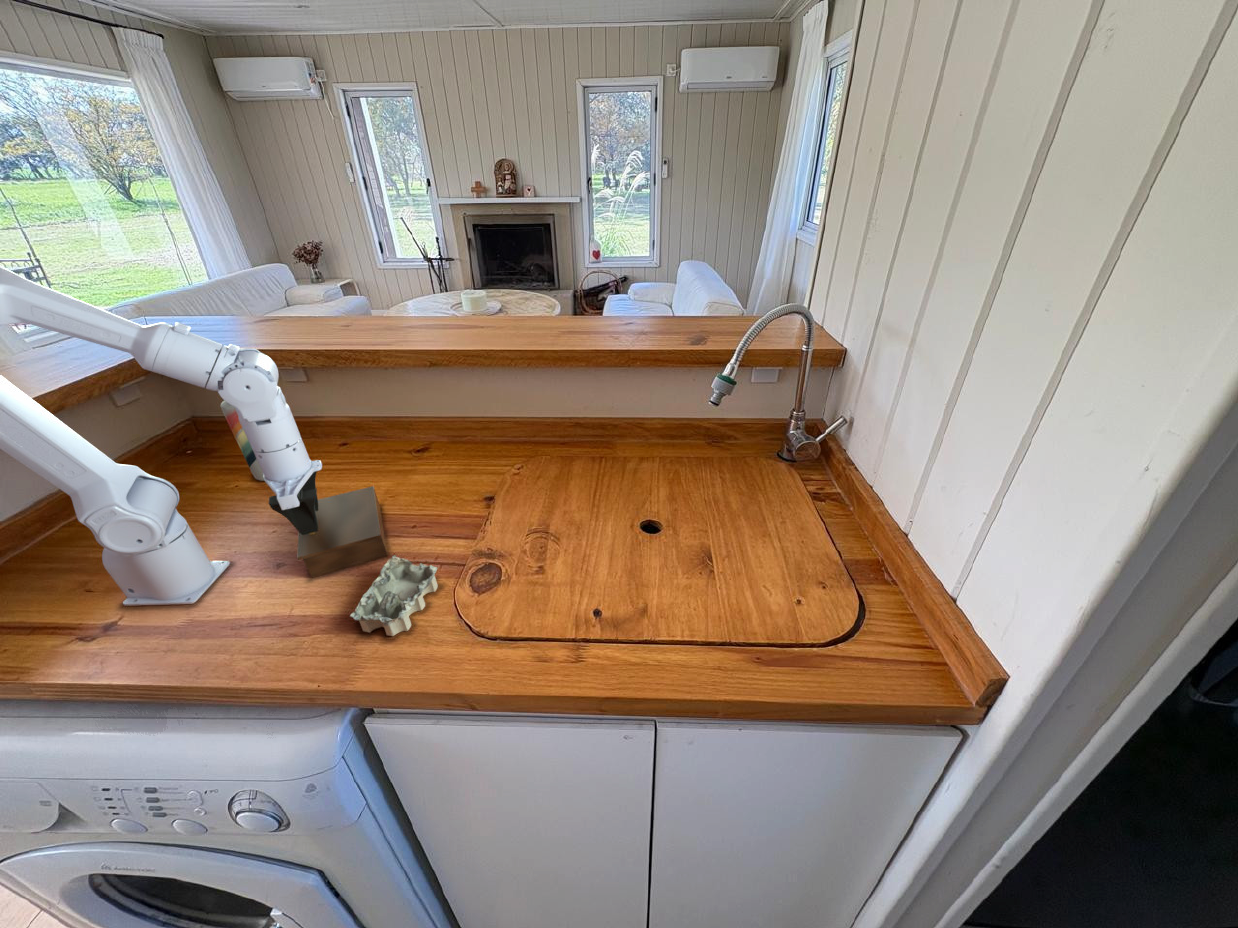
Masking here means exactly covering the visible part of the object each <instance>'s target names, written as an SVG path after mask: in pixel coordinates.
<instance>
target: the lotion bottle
mask: <svg viewBox="0 0 1238 928" xmlns="http://www.w3.org/2000/svg"><path fill="white" fill-rule="evenodd" d="M220 408H221V411H222V413H223V415H224V417H225V420H226V422H227V424H228V426H229V428H230V430H231V432H232V434H233V436H234V439H235V440H236V442H237V444H238V447H239V449H240V451H241V453H242V455H243V458H244V459H245V462H246V464H247V466H248V468H249V470H250V472H251V474H252V476H253V478H254V479H255V480H257V481H264V482H265V480H264V478H263V475H264V474H263V471H262V469H261V467H260V465H259V463H258V460H257V458H256V456H255V454H254V452H253V449H252V447H251V445H250V443H249V441H248V439H247V436H246V434H245V432H244V430H243V428H242V425H241V423H240V421H239V418H238V414H237V412H236V410H235V408H234V406H232V405H230V404H229V403H227V402H226V401H225V400H223V401H222V402H221V403H220Z"/></svg>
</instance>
